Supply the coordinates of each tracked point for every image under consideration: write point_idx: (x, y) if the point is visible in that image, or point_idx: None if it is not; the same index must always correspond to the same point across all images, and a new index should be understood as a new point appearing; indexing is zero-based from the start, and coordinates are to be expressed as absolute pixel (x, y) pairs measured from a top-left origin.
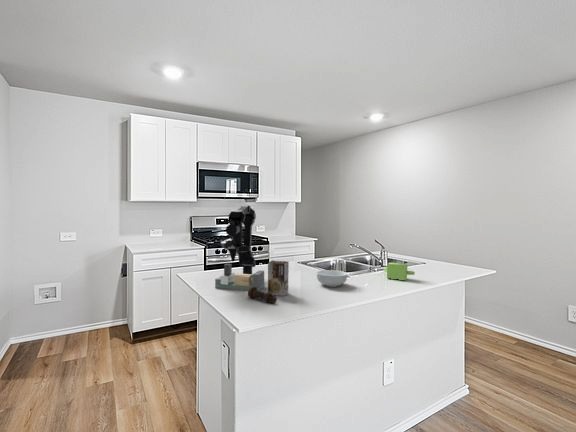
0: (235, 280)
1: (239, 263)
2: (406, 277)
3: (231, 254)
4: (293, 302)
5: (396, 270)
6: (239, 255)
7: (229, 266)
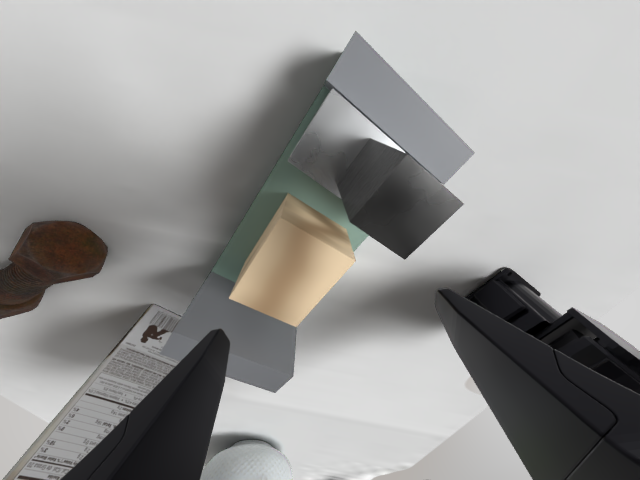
0: (280, 210)
1: (205, 336)
2: None
3: (529, 385)
4: (44, 347)
5: None
6: None
7: (350, 216)
